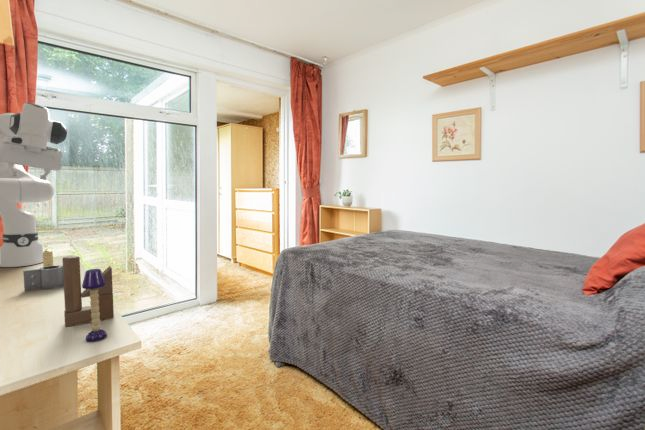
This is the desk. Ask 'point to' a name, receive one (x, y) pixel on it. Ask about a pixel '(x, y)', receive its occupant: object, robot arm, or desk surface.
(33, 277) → the octagonal sleeve with tab
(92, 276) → the toy lamp
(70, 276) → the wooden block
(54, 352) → the desk surface
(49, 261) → the brass pin
